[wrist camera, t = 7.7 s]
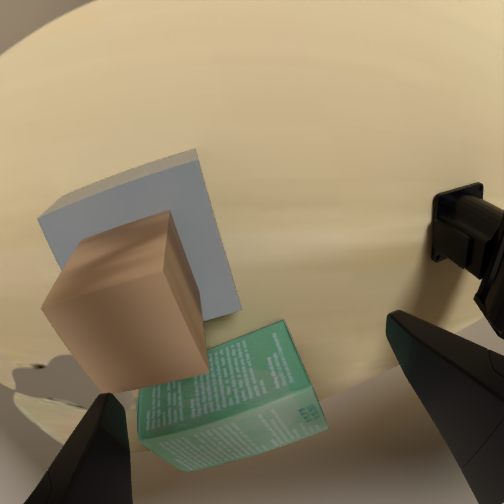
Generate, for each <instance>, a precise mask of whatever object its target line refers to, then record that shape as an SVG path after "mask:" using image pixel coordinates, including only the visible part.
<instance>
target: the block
mask: <svg viewBox="0 0 504 504" xmlns="http://www.w3.org/2000/svg"><path fill="white" fill-rule="evenodd" d="M41 309H42V311H43V313H44V314H45V316H46V317H47V319H48V320H49V322H50V323H51V325H52V327H53V328H54V330H55V331H56V333H57V334H58V335H59V337H60V338H61V340H62V341H63V343H64V344H65V346H66V347H67V348H68V350H69V351H70V352H71V354H72V355H73V357H74V358H75V359H76V360H77V362H78V363H79V364H80V366H81V367H82V368H83V370H84V371H85V372H86V374H87V375H88V376H89V377H90V378H91V380H92V381H93V382H94V384H95V385H96V386H97V387H98V388H99V390H100V391H101V392H102V393H112V394H113V393H119V392H124V391H130V390H135V389H140V388H145V387H150V386H155V385H159V384H164V383H168V382H173V381H177V380H181V379H186V378H190V377H194V376H198V375H202V374H206V373H210V371H209V363H208V356H207V349H206V341H205V333H204V325H203V317H202V309H201V300H200V292H199V289H198V286H197V284H196V281H195V278H194V276H193V273H192V270H191V268H190V265H189V262H188V260H187V257H186V254H185V251H184V249H183V246H182V243H181V240H180V237H179V235H178V232H177V229H176V226H175V223H174V220H173V217H172V214H171V211H170V210H167V211H163V212H160V213H157V214H154V215H151V216H148V217H145V218H142V219H139V220H136V221H133V222H130V223H127V224H124V225H121V226H118V227H115V228H113V229H110V230H107V231H104V232H101V233H98V234H96V235H93V236H90V237H87V238H85V239H82V240H81V241H80V243H79V244H78V246H77V247H76V249H75V251H74V252H73V254H72V255H71V257H70V258H69V260H68V262H67V263H66V265H65V267H64V268H63V270H62V272H61V273H60V275H59V277H58V278H57V280H56V282H55V283H54V285H53V287H52V289H51V290H50V292H49V294H48V296H47V298H46V299H45V301H44V303H43V305H42V307H41Z"/></svg>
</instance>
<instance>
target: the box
mask: <svg viewBox="0 0 504 504" xmlns="http://www.w3.org/2000/svg"><path fill="white" fill-rule="evenodd" d="M207 356H208V363H209V371H210V373H206V374H202V375H198V376H194V377H190V378H186V379H181V380H177V381H173V382H168V383H164V384H159V385H155V386H150V387H145V388H140V389H139V395H138V401H137V432H138V438H139V441H140V443H141V444H142V445H144V446H145V447H147V448H148V449H149V450H151V451H152V452H153V453H155V454H156V455H158V456H159V457H161V458H162V459H164V460H165V461H167V462H168V463H170V464H172V465H173V466H175V467H177V468H178V469H180V470H181V471H186V472H193V471H197V470H201V469H206V468H210V467H213V466H218V465H221V464H225V463H228V462H232V461H236V460H239V459H243V458H246V457H249V456H253V455H256V454H260V453H262V452H265V451H268V450H272V449H275V448H277V447H280V446H283V445H286V444H289V443H291V442H294V441H297V440H300V439H303V438H305V437H308V436H311V435H314V434H316V433H319V432H321V431H323V430H326V429H328V428H329V426H328V423H327V421H326V418H325V416H324V414H323V411H322V409H321V406H320V404H319V401H318V399H317V396H316V394H315V391H314V389H313V387H312V384H311V382H310V380H309V377H308V375H307V372H306V370H305V367H304V365H303V362H302V360H301V357H300V355H299V352H298V350H297V347H296V345H295V342H294V340H293V337H292V335H291V333H290V331H289V328H288V326H287V324H286V322H285V321H284V319H283V320H281V321H279V322H276V323H274V324H271V325H269V326H267V327H264V328H262V329H259V330H256V331H254V332H251V333H249V334H246V335H244V336H241V337H239V338H236V339H233V340H231V341H228V342H226V343H223V344H221V345H218V346H216V347H213V348H211V349H208V350H207Z"/></svg>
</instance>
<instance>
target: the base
mask: <svg viewBox="0 0 504 504" xmlns="http://www.w3.org/2000/svg"><path fill="white" fill-rule="evenodd" d="M167 210H170V211H171V214H172V217H173V220H174V223H175V226H176V229H177V232H178V235H179V237H180V240H181V243H182V246H183V249H184V251H185V254H186V257H187V260H188V262H189V265H190V268H191V270H192V273H193V276H194V278H195V281H196V284H197V286H198V289H199V292H200V300H201V309H202V317H203V321H206V320H210V319H213V318H217V317H220V316H224V315H227V314H230V313H234V312H237V311H241V310H242V308H241V304H240V301H239V297H238V294H237V290H236V287H235V284H234V280H233V277H232V273H231V270H230V267H229V263H228V260H227V257H226V253H225V250H224V247H223V243H222V240H221V236H220V233H219V230H218V226H217V223H216V219H215V216H214V212H213V209H212V206H211V202H210V199H209V195H208V192H207V188H206V185H205V181H204V177H203V174H202V170H201V167H200V163H199V160H198V156H197V152H196V149H192V150H189V151H186V152H182V153H179V154H176V155H172V156H169V157H166V158H163V159H160V160H157V161H154V162H151V163H148V164H145V165H142V166H139V167H136V168H133V169H130V170H128V171H125V172H122V173H119V174H117V175H114V176H111V177H109V178H106V179H103V180H101V181H98V182H96V183H93V184H91V185H88V186H86V187H83V188H81V189H78V190H76V191H73V192H71V193H69V194H66V195H64V196H62V197H61V198H60V199H58V200H57V201H56V202H55V203H54V204H53V205H52V206H50V207H49V208H48V209H47V210H46V211H45V212H44V213H43V214H42V215H41V216H39V217H38V218H37V219H38V222H39V224H40V226H41V229H42V231H43V233H44V235H45V238H46V240H47V242H48V244H49V246H50V248H51V250H52V252H53V254H54V256H55V258H56V260H57V262H58V264H59V266H60V268H61V270H63V268H64V267H65V265H66V263H67V262H68V260H69V258H70V257H71V255H72V254H73V252H74V251H75V249H76V247H77V246H78V244H79V243H80V241H81V240H82V239H85V238H87V237H90V236H93V235H96V234H98V233H101V232H104V231H107V230H110V229H113V228H115V227H118V226H121V225H124V224H127V223H130V222H133V221H136V220H139V219H142V218H145V217H148V216H151V215H154V214H157V213H160V212H163V211H167Z"/></svg>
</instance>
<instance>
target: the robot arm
mask: <svg viewBox="0 0 504 504" xmlns="http://www.w3.org/2000/svg"><path fill="white" fill-rule="evenodd" d="M431 258H432V260H433V261H434V262H439V261H441V260H444V259H446V258H449V259H450V260H451V261H453V262H454V263H455V264H457V265H458V266H459V267H461V268H462V269H464V268H465V269H466V270H468V271H469V272H470V273H472V274H473V275H474V276H475V277H477V278H478V279H479V280H480V279H482V278H483V279H482V281H481V284H480V286H479V289H478V291H477V293H476V294H475V296H474V301H475V302H476V304H477V305H478V307H479V308H480V310H481V311H482V313H483V314H484V316H485V317H486V319H487V320H488V322H489V323H490V325H491V326H492V328H493V330H494V331H495V332H496V334H497V335H498V336H499V337H500V338H502V339H504V210H502V209H500V208H498V207H497V206H495V205H493V204H491V203H489V202H487V201H485V200H483V184H482V183H479V182H477V183H473V184H470V185H466V186H463V187H459V188H456V189H452V190H449V191H445V192H442V193H439V194H437V195H436V197H435V201H434V228H433V244H432V256H431ZM386 337H387V339H388V341H389V343H390V345H391V347H392V350H393V352H394V354H395V356H396V358H397V360H398V362H399V364H400V366H401V368H402V370H403V372H404V374H405V376H406V378H407V379H408V381H409V383H410V384H411V386H412V387H413V389H414V390H415V392H416V394H417V395H418V397H419V398H420V400H421V402H422V404H423V405H424V407H425V408H426V410H427V412H428V413H429V415H430V417H431V418H432V420H433V422H434V423H435V425H436V427H437V428H438V430H439V432H440V434H441V435H442V437H443V439H444V440H445V442H446V444H447V446H448V447H449V449H450V451H451V453H452V454H453V456H454V458H455V460H456V462H457V463H458V465H459V467H460V469H461V471H462V473H463V474H464V476H465V478H466V480H467V482H468V484H469V486H470V488H471V490H472V492H473V493H474V495H475V497H476V499H477V501H478V503H479V504H502V503H503V502H504V356H503V355H501V354H498V353H496V352H494V351H492V350H488V349H487V348H485V347H482V346H480V345H478V344H476V343H474V342H471V341H469V340H467V339H464V338H462V337H460V336H458V335H456V334H453V333H451V332H449V331H447V330H444V329H442V328H440V327H438V326H435V325H433V324H431V323H428V322H426V321H424V320H422V319H419V318H417V317H415V316H413V315H410V314H408V313H406V312H404V311H401V310H396V311H393V312H391V313H389V314H388V315H387V320H386ZM24 504H133V501H132V486H131V465H130V448H129V440H128V432H127V423H126V414H125V410H124V407H123V406H122V405H121V403H120V402H119V401H118V400H117V399H116V398H115V396H114V395H113V394H112V393H102V394H99V395H98V397H97V398H96V399H95V401H94V402H93V404H92V405H91V406H90V408H89V409H88V411H87V412H86V414H85V415H84V417H83V418H82V419H81V421H80V422H79V424H78V425H77V427H76V428H75V430H74V431H73V433H72V434H71V436H70V437H69V438H68V440H67V441H66V443H65V444H64V446H63V447H62V449H61V450H60V452H59V453H58V455H57V456H56V458H55V460H54V461H53V462H52V464H51V466H50V467H49V469H48V471H47V472H46V473H45V475H44V476H43V478H42V479H41V481H40V482H39V484H38V485H37V487H36V488H35V489H34V491H33V492H32V493H31V495H30V496H29V497H28V499H27V500H26V501H25V503H24Z"/></svg>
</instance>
